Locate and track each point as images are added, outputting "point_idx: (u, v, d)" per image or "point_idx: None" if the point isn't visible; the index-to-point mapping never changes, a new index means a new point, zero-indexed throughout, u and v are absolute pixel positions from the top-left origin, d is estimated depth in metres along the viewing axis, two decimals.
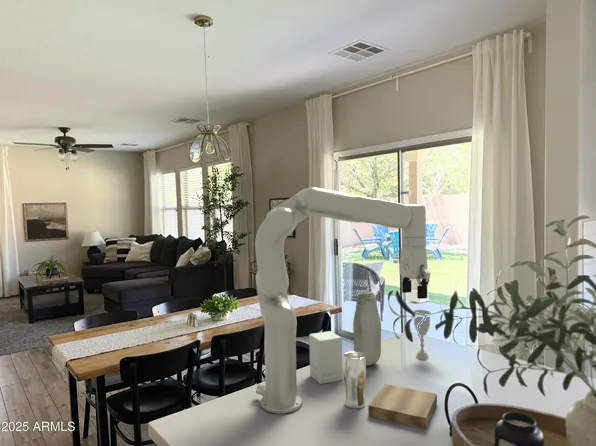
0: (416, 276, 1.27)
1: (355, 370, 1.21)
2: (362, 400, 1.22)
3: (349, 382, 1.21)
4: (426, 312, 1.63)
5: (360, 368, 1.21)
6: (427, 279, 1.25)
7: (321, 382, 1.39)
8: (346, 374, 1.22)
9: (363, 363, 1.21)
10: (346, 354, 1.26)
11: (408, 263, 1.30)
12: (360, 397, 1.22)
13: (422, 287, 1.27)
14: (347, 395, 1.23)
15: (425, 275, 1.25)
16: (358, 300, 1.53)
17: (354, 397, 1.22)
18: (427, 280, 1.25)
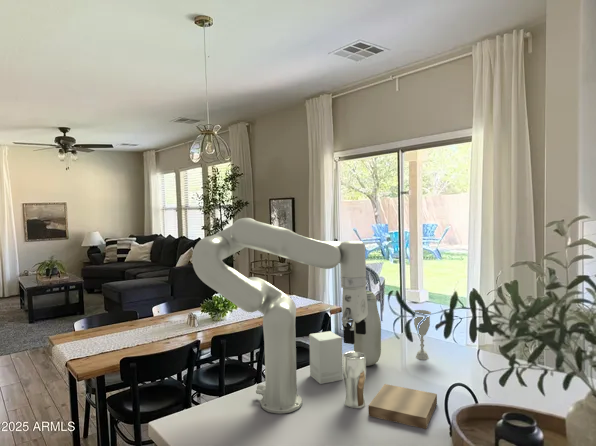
0: None
1: (355, 370, 1.21)
2: (362, 400, 1.22)
3: (350, 382, 1.21)
4: (426, 312, 1.63)
5: (360, 368, 1.21)
6: None
7: (321, 382, 1.39)
8: (346, 374, 1.22)
9: (363, 363, 1.21)
10: (346, 354, 1.26)
11: (364, 303, 1.23)
12: (360, 397, 1.22)
13: None
14: (347, 395, 1.23)
15: None
16: None
17: (354, 397, 1.22)
18: None
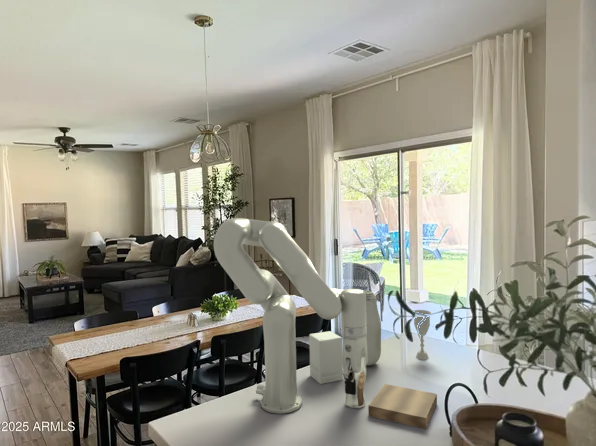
0: None
1: None
2: (362, 400, 1.22)
3: None
4: (426, 312, 1.63)
5: None
6: None
7: (321, 382, 1.39)
8: None
9: (363, 363, 1.21)
10: None
11: (364, 351, 1.24)
12: (360, 397, 1.22)
13: None
14: (347, 395, 1.23)
15: None
16: None
17: (354, 396, 1.22)
18: None
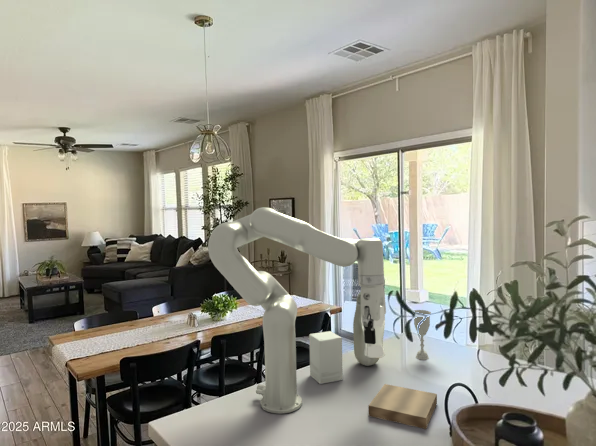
0: None
1: None
2: (382, 350, 1.20)
3: None
4: (426, 312, 1.63)
5: None
6: None
7: (321, 382, 1.39)
8: None
9: (382, 312, 1.19)
10: None
11: (382, 301, 1.22)
12: (380, 347, 1.20)
13: None
14: (366, 345, 1.21)
15: None
16: (358, 300, 1.53)
17: (373, 346, 1.20)
18: None
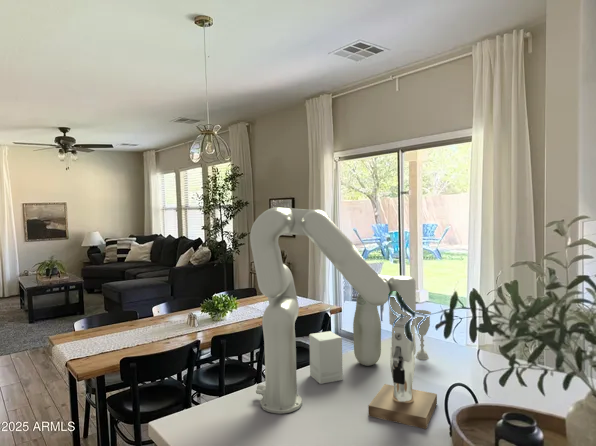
0: None
1: (404, 364, 1.16)
2: (411, 395, 1.18)
3: None
4: (426, 312, 1.63)
5: (410, 362, 1.17)
6: None
7: (321, 382, 1.39)
8: None
9: (412, 357, 1.17)
10: None
11: (413, 340, 1.19)
12: (409, 392, 1.18)
13: None
14: (395, 390, 1.19)
15: None
16: (358, 300, 1.53)
17: (403, 391, 1.18)
18: None
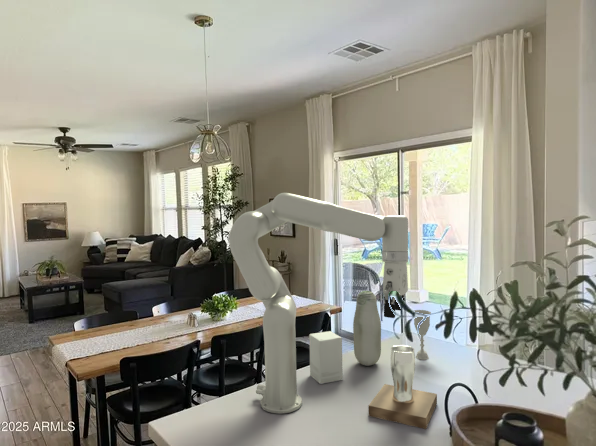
0: None
1: (404, 364, 1.16)
2: (411, 395, 1.18)
3: (399, 377, 1.17)
4: (426, 312, 1.63)
5: (410, 362, 1.17)
6: None
7: (321, 382, 1.39)
8: (395, 368, 1.18)
9: (413, 357, 1.17)
10: (393, 348, 1.22)
11: (405, 278, 1.22)
12: (409, 392, 1.18)
13: None
14: (395, 390, 1.19)
15: None
16: (358, 300, 1.53)
17: (403, 391, 1.18)
18: None
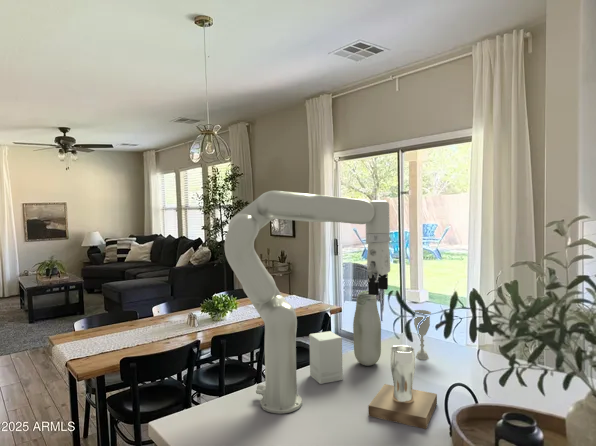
0: None
1: (404, 364, 1.16)
2: (411, 395, 1.18)
3: (399, 377, 1.17)
4: (426, 312, 1.63)
5: (410, 362, 1.17)
6: None
7: (321, 382, 1.39)
8: (395, 368, 1.18)
9: (413, 357, 1.17)
10: (393, 348, 1.22)
11: (387, 258, 1.31)
12: (409, 392, 1.18)
13: None
14: (395, 390, 1.19)
15: None
16: (358, 300, 1.53)
17: (403, 391, 1.18)
18: None
